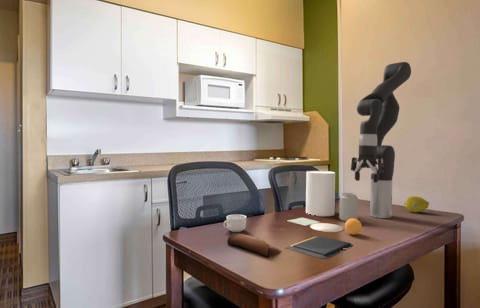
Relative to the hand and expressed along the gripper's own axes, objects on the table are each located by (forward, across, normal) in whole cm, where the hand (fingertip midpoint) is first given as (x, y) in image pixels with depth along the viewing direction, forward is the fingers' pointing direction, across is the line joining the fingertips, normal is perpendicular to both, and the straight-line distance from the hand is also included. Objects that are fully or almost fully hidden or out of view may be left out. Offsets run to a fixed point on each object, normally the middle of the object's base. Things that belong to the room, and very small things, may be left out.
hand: (366, 181), depth 144 cm
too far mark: (+18, +14, +24) cm, 33 cm away
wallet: (+20, -11, +46) cm, 51 cm away
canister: (+18, +21, +4) cm, 28 cm away
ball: (+15, -10, +24) cm, 30 cm away
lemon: (+16, -6, -37) cm, 41 cm away
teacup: (+20, +20, +57) cm, 64 cm away
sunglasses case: (+20, +1, +64) cm, 67 cm away
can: (+18, +4, +6) cm, 19 cm away
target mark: (+18, +2, +24) cm, 30 cm away
